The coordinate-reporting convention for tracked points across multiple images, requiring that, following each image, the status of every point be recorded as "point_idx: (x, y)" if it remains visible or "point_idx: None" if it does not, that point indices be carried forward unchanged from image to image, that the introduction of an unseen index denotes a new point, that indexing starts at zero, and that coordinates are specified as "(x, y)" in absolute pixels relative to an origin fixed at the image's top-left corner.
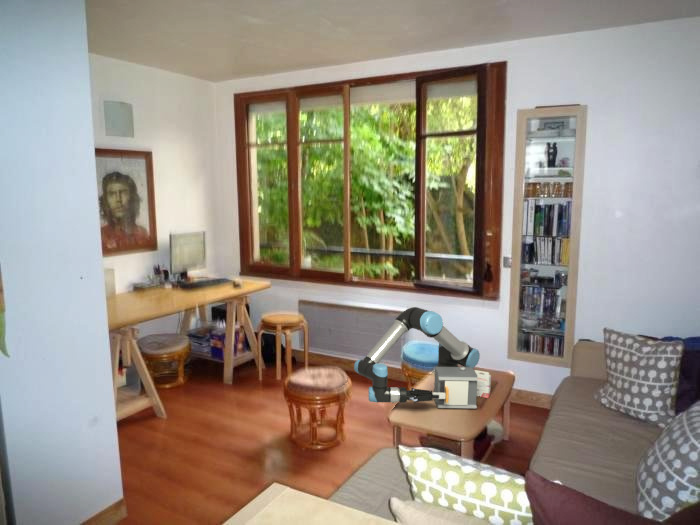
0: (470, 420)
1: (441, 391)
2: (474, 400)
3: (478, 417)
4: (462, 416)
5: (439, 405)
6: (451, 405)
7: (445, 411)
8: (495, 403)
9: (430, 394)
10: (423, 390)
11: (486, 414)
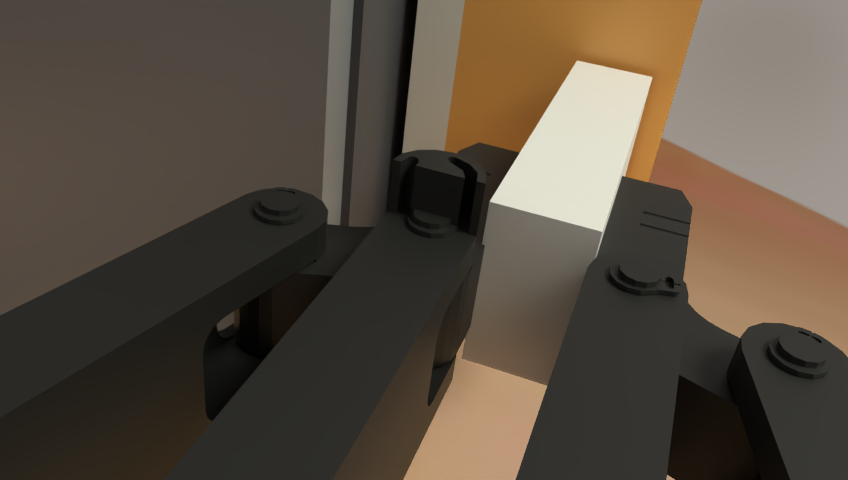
0: (834, 303)
1: (373, 85)
2: None
3: (736, 218)
4: (710, 316)
5: None
6: None
7: (499, 412)
8: None
9: (650, 311)
10: (104, 330)
11: (661, 153)
